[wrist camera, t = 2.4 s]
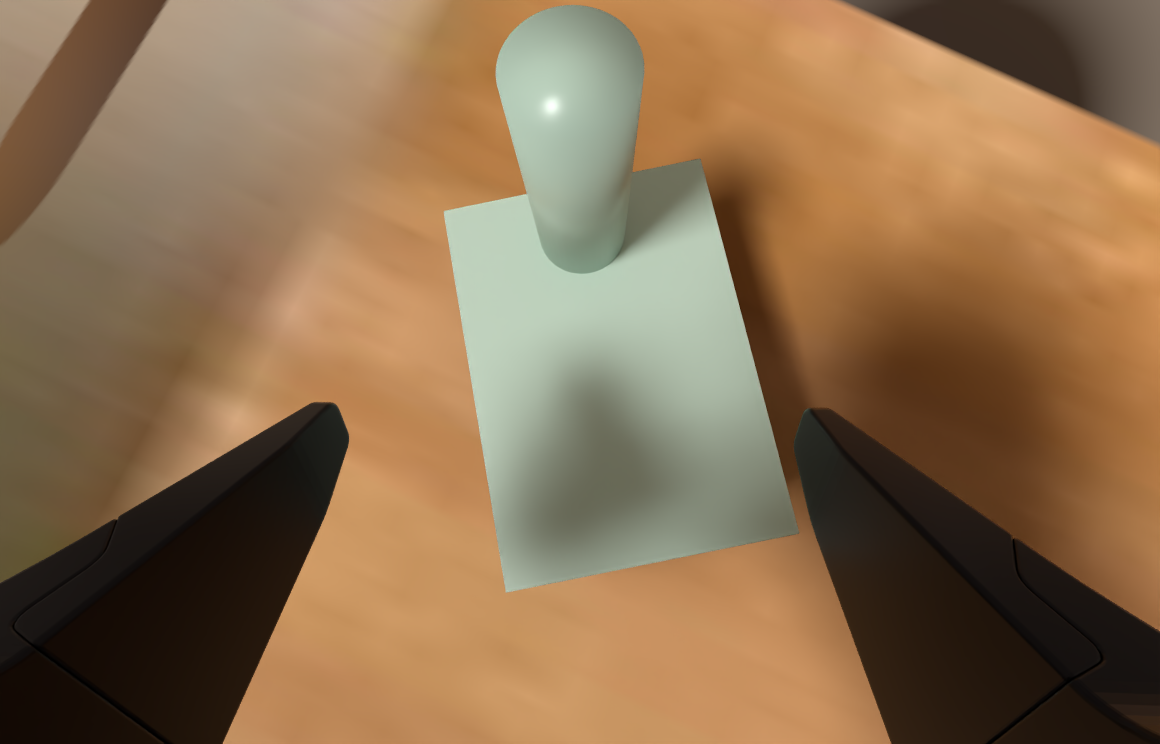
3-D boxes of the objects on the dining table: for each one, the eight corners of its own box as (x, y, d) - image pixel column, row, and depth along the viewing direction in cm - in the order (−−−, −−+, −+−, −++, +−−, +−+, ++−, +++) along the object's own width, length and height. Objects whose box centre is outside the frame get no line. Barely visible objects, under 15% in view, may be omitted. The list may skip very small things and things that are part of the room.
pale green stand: (512, 583, 18) (421, 719, 9) (452, 225, 20) (332, 37, 11) (785, 528, 18) (983, 606, 9) (694, 175, 20) (773, -54, 11)
